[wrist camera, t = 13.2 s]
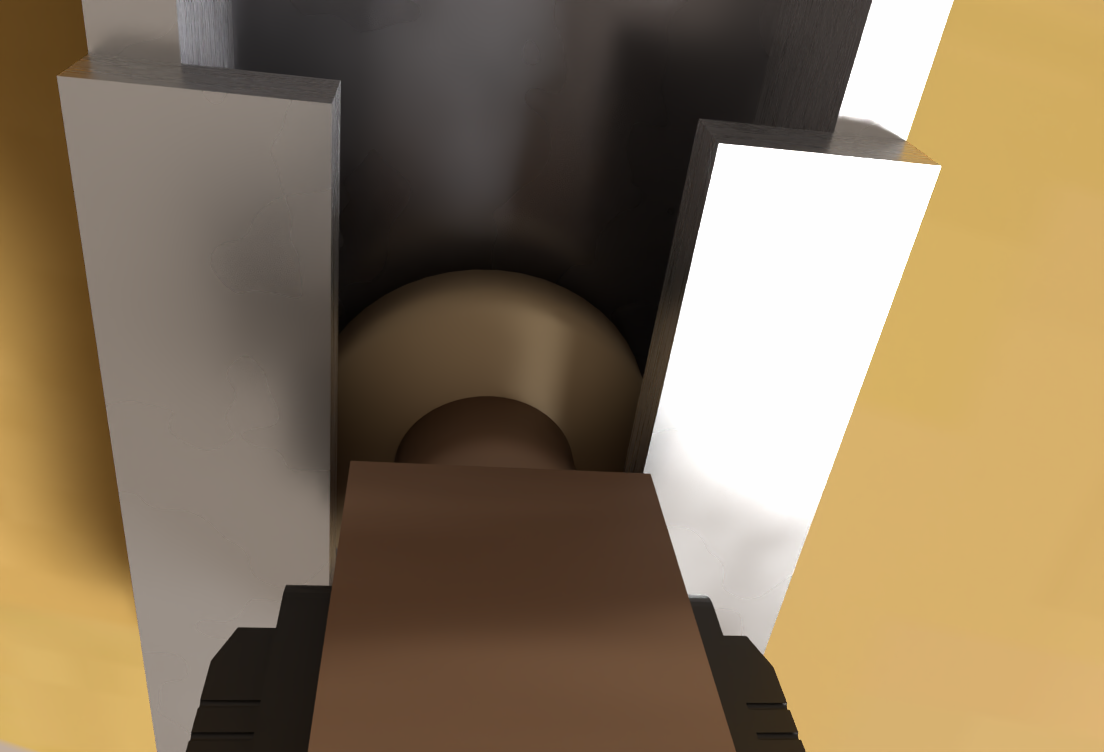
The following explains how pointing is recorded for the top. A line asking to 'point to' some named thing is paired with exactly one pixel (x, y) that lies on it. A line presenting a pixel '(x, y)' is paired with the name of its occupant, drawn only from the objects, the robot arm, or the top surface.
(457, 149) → the track
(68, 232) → the top surface
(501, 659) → the headed peg
